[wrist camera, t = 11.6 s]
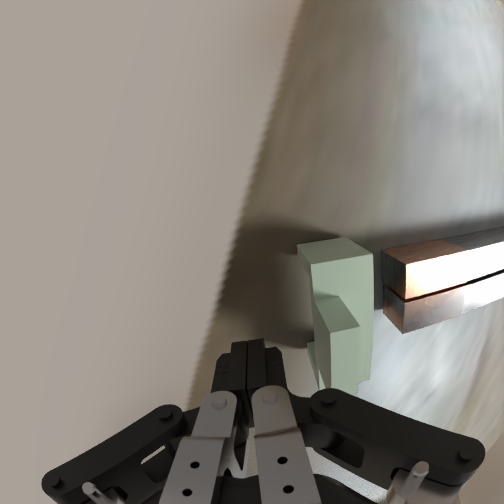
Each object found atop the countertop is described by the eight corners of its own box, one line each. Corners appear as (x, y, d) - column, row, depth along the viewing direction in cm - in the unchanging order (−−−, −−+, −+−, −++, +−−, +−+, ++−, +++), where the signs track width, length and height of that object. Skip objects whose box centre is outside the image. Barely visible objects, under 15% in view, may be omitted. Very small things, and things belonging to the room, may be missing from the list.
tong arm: (542, 240, 16) (564, 248, 13) (539, 262, 17) (561, 272, 13) (383, 282, 17) (409, 304, 13) (383, 315, 17) (405, 340, 14)
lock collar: (349, 343, 18) (387, 413, 11) (307, 352, 18) (330, 429, 11) (345, 237, 16) (403, 273, 9) (296, 244, 16) (327, 289, 9)
